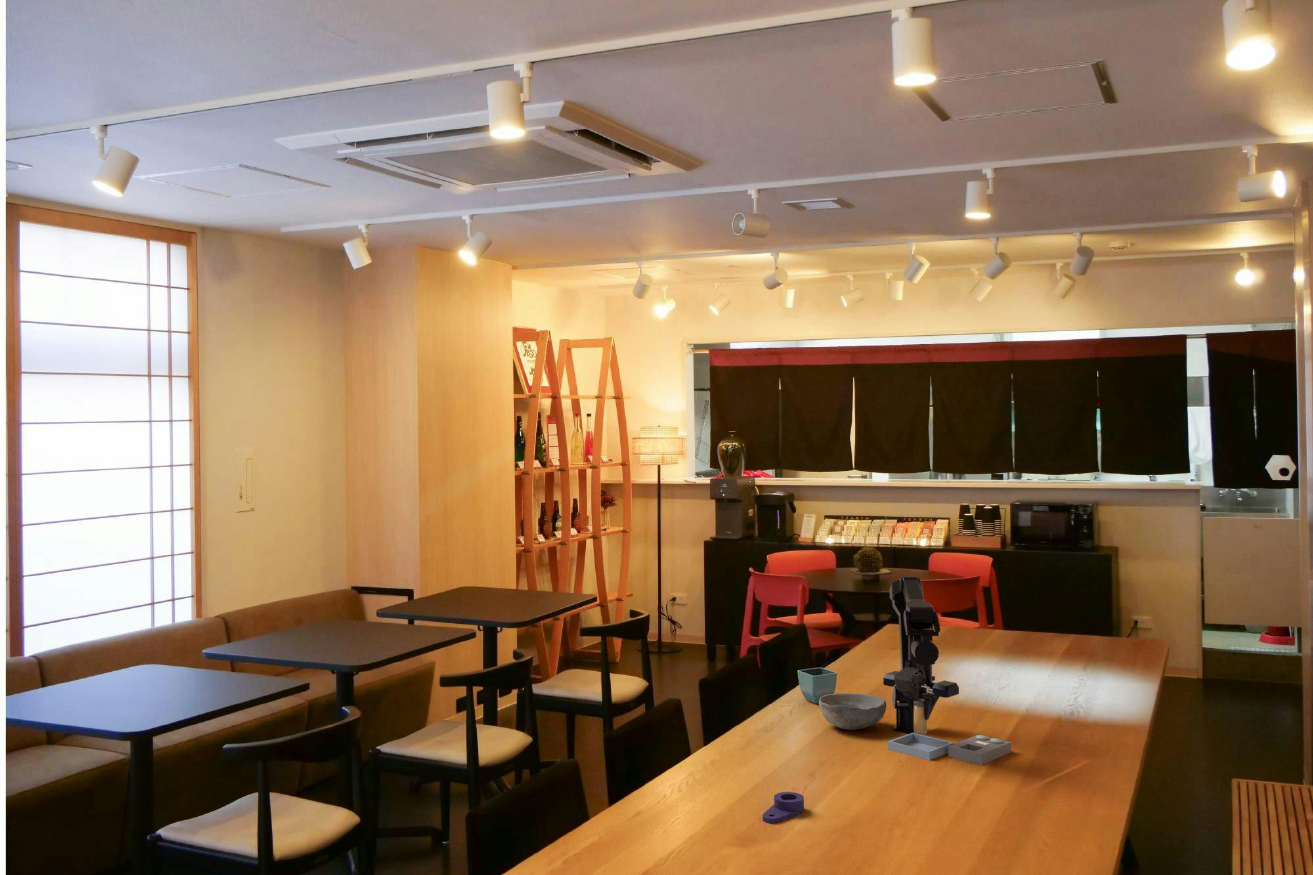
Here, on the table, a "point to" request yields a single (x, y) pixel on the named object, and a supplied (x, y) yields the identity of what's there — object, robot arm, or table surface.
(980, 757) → the panel
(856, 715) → the bowl
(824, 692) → the flower pot
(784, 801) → the lever
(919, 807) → the table surface
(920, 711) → the cylinder
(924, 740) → the parts tray
